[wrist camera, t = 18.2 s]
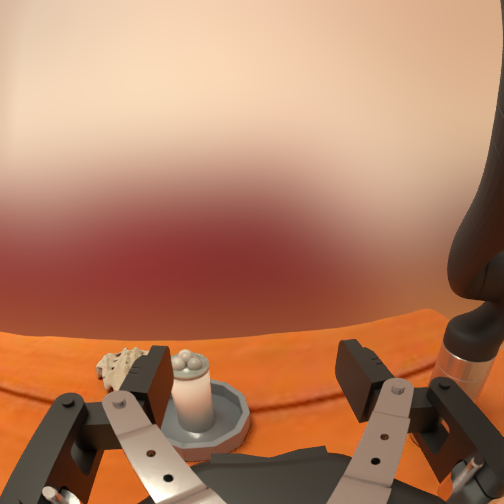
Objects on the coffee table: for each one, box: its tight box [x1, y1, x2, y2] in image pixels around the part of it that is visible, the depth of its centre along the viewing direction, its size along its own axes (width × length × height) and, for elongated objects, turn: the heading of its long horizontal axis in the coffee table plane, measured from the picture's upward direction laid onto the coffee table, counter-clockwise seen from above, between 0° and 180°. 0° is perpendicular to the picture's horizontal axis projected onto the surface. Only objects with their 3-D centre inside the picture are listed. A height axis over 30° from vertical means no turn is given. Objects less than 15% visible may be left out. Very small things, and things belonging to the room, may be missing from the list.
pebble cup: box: [171, 350, 215, 433], centre depth 37 cm, size 6×6×14 cm
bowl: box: [161, 379, 250, 462], centre depth 39 cm, size 17×17×4 cm
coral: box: [95, 347, 149, 391], centre depth 50 cm, size 15×12×5 cm
